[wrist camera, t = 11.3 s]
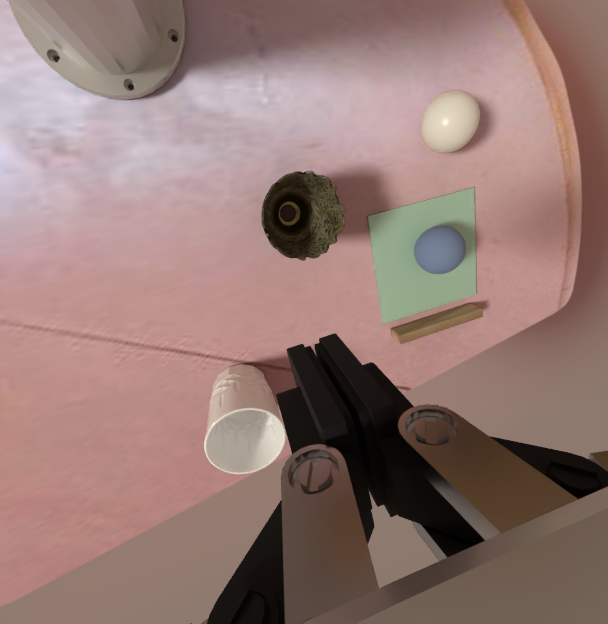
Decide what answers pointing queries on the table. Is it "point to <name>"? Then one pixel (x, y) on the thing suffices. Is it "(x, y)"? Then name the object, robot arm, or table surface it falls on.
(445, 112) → the cream ball
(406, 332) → the stop rail
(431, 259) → the object ball
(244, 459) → the white cup
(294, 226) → the cup
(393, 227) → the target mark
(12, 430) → the table surface
